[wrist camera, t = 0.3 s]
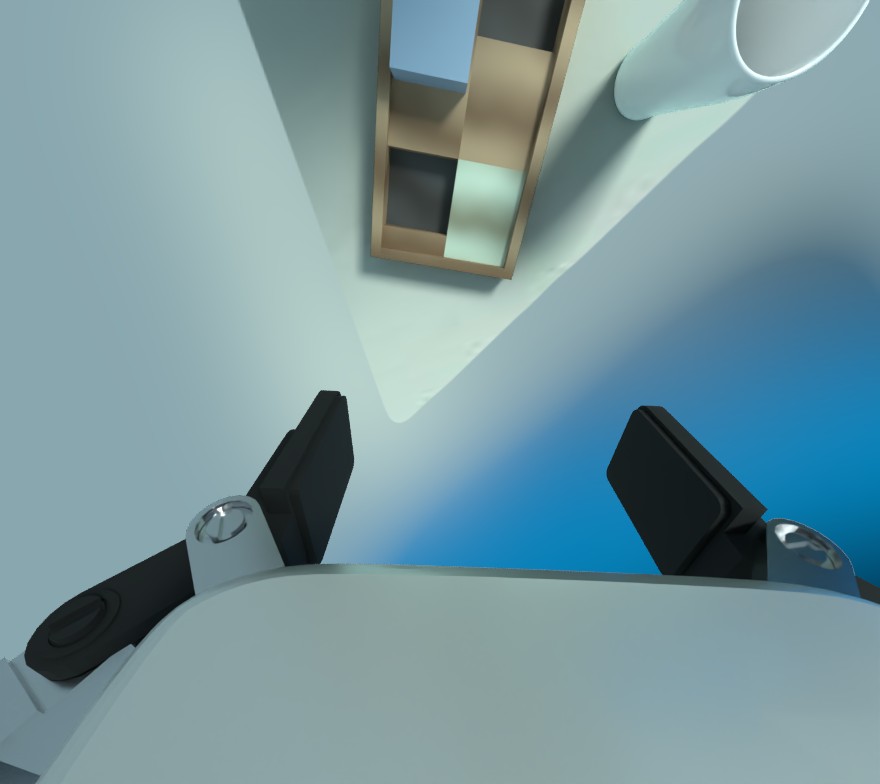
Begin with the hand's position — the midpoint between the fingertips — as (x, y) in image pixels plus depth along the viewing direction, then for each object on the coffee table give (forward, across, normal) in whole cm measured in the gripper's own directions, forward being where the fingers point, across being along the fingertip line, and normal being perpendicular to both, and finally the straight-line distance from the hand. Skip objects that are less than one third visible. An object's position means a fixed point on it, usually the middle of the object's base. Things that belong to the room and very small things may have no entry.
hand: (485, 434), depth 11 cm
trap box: (+30, 0, -15) cm, 34 cm away
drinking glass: (+30, -15, -16) cm, 37 cm away
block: (+28, +3, -17) cm, 33 cm away
